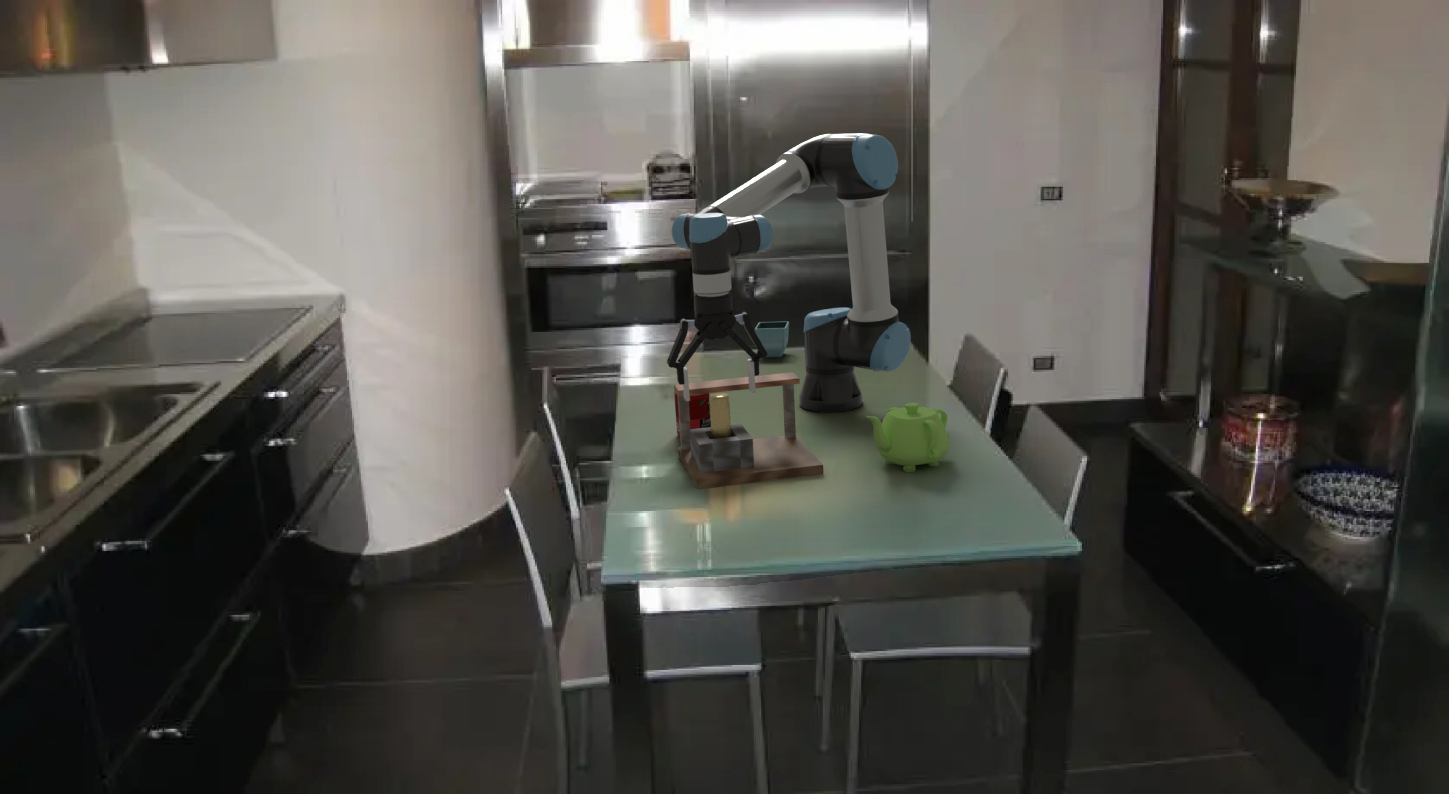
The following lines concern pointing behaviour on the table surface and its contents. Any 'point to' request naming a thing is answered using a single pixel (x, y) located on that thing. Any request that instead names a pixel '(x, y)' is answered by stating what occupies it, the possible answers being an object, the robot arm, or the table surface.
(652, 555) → the table surface
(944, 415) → the teapot
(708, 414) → the canned food
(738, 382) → the station
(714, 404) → the peg
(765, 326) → the flower pot
